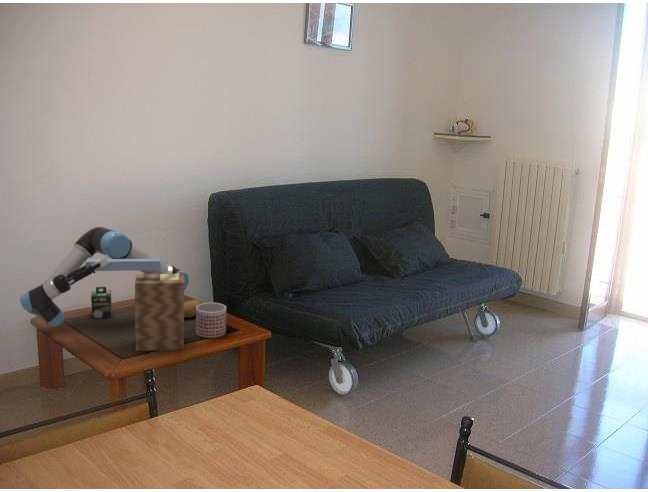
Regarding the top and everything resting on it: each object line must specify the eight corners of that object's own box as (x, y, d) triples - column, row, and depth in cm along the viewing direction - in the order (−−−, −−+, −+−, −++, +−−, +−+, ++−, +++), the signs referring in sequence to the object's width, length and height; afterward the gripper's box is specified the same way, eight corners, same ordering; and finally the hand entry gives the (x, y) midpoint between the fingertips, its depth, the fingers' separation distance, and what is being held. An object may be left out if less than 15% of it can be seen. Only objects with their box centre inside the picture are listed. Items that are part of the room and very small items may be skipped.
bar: (85, 271, 268) (85, 261, 267) (86, 268, 271) (86, 259, 271) (160, 270, 275) (160, 261, 274) (160, 267, 278) (160, 258, 277)
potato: (206, 315, 323) (206, 300, 321) (185, 322, 312) (185, 306, 310) (193, 310, 328) (193, 295, 327) (171, 317, 317) (171, 302, 315)
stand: (135, 350, 275) (134, 283, 268) (137, 338, 289) (136, 274, 282) (183, 349, 280) (184, 282, 273) (183, 337, 293) (183, 273, 286)
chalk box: (111, 311, 321) (111, 283, 318) (111, 317, 312) (111, 288, 309) (92, 312, 318) (91, 283, 315) (91, 318, 310) (90, 289, 306)
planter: (191, 330, 303) (192, 304, 300) (219, 326, 309) (220, 301, 306) (201, 340, 291) (201, 313, 288) (230, 336, 298) (230, 310, 295)
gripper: (48, 284, 259) (101, 256, 261) (55, 272, 275) (105, 246, 277) (59, 299, 262) (111, 271, 264) (65, 287, 278) (114, 260, 280)
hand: (107, 258), depth 270 cm, fingers closed on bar, 4 cm apart
